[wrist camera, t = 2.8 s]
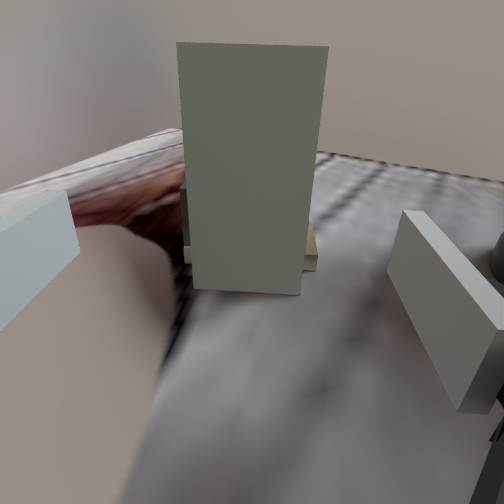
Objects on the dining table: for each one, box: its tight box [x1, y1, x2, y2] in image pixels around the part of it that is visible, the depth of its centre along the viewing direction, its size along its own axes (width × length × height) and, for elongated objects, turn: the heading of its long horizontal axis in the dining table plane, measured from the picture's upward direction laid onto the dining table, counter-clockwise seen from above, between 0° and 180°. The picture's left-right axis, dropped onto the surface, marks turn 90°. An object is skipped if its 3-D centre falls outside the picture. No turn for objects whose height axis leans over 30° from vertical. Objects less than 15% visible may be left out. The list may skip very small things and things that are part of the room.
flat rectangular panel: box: [176, 42, 329, 295], centre depth 24 cm, size 8×3×16 cm, turn 86°
